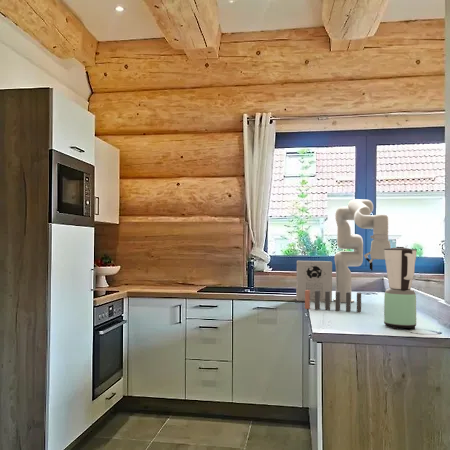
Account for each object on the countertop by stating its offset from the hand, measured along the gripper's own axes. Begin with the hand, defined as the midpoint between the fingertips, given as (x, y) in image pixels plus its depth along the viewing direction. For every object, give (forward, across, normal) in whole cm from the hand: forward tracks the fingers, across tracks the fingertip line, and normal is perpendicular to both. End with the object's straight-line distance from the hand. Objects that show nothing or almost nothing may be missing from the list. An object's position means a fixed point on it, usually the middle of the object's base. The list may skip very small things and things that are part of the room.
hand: (380, 270), depth 240 cm
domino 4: (+22, -22, 0) cm, 31 cm away
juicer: (+23, +9, -42) cm, 48 cm away
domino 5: (+22, -16, 0) cm, 28 cm away
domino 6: (+22, -11, 0) cm, 25 cm away
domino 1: (+22, -38, 0) cm, 44 cm away
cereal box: (+22, -41, +38) cm, 60 cm away
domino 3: (+22, -27, 0) cm, 35 cm away
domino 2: (+22, -33, 0) cm, 40 cm away
